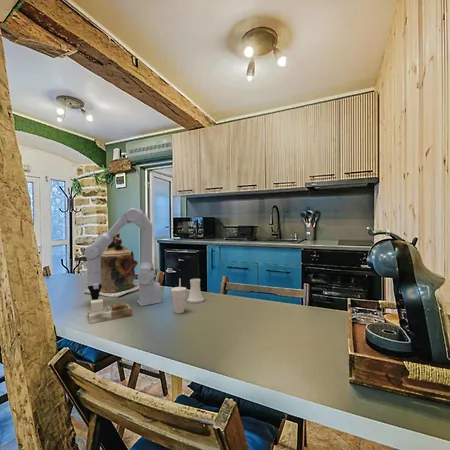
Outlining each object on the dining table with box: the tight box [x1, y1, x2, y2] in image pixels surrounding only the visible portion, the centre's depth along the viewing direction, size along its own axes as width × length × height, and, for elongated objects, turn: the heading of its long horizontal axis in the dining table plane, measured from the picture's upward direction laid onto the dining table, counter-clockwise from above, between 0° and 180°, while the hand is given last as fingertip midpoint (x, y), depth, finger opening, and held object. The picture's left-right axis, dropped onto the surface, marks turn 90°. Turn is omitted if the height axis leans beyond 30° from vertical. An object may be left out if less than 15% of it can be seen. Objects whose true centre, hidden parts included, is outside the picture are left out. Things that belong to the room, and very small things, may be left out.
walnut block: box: [111, 301, 126, 311], centre depth 113 cm, size 4×4×4 cm
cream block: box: [90, 298, 104, 313], centre depth 118 cm, size 4×4×4 cm
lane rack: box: [86, 302, 133, 325], centre depth 111 cm, size 15×10×3 cm, turn 120°
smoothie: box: [170, 278, 187, 314], centre depth 114 cm, size 6×6×14 cm
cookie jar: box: [84, 231, 139, 298], centre depth 150 cm, size 25×25×32 cm
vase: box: [187, 278, 204, 304], centre depth 129 cm, size 8×8×10 cm
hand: (95, 301), depth 126 cm, fingers closed
